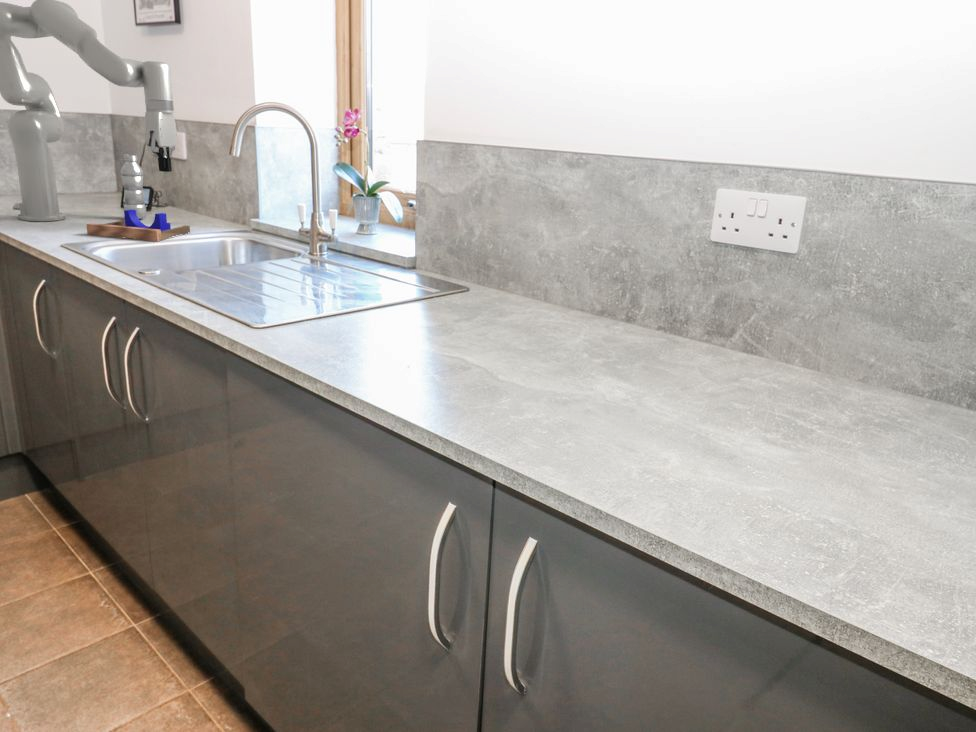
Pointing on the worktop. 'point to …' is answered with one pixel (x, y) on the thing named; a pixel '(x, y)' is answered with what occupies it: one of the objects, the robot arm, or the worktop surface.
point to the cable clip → (133, 221)
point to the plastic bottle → (133, 185)
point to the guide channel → (133, 231)
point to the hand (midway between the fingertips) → (165, 171)
